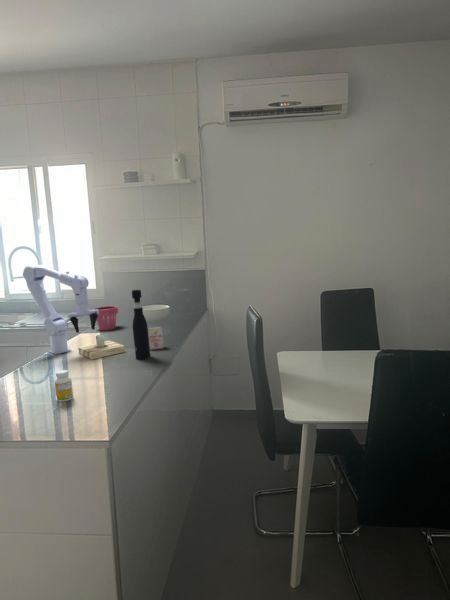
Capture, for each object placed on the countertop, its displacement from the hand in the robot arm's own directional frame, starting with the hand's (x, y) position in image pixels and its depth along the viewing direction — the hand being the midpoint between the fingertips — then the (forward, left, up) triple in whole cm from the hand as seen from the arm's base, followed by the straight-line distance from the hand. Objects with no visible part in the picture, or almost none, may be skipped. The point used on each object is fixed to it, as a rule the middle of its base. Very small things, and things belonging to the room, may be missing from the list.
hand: (85, 330), depth 222 cm
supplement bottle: (+58, -30, -11) cm, 66 cm away
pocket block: (+7, +4, -10) cm, 13 cm away
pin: (+7, +4, -10) cm, 13 cm away
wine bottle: (+32, +13, -11) cm, 36 cm away
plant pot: (-45, +29, -11) cm, 55 cm away
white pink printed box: (+22, +25, -11) cm, 35 cm away
